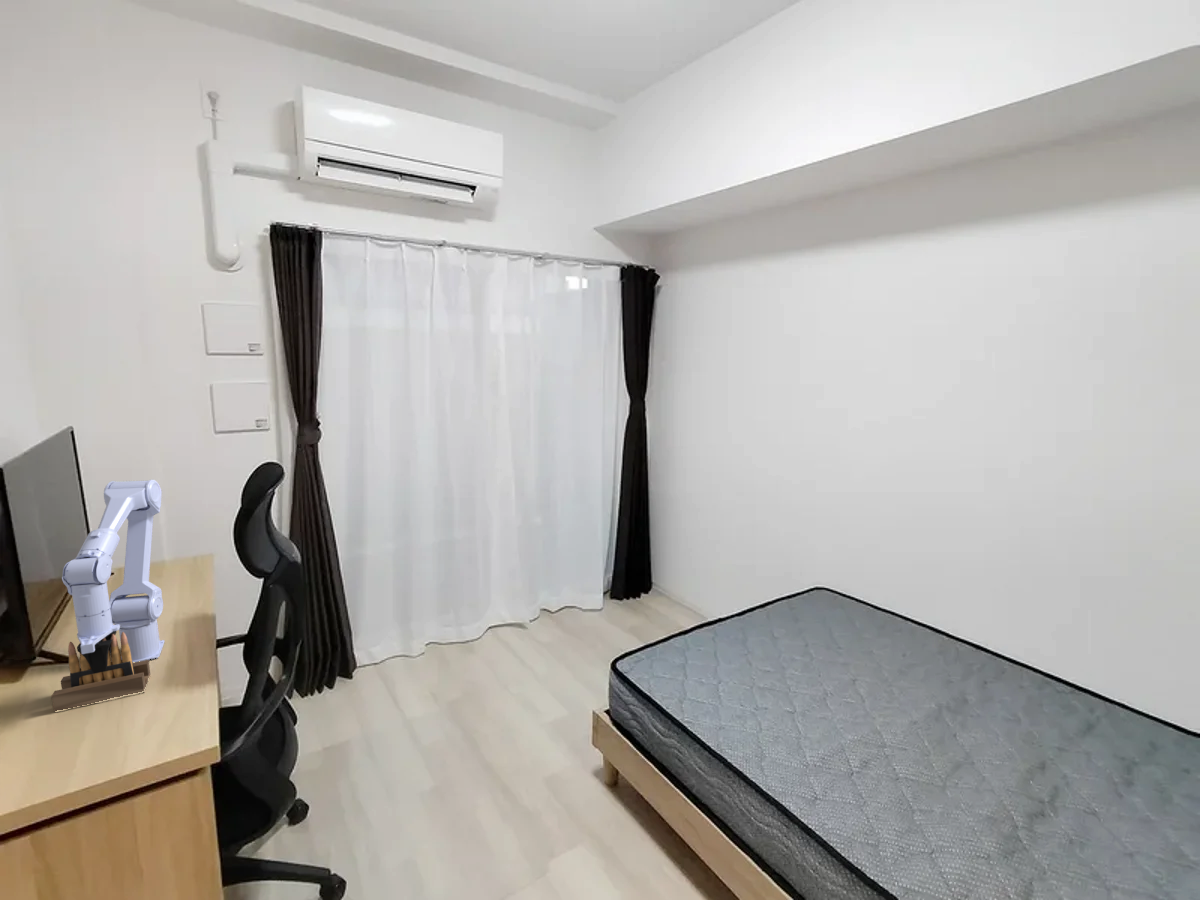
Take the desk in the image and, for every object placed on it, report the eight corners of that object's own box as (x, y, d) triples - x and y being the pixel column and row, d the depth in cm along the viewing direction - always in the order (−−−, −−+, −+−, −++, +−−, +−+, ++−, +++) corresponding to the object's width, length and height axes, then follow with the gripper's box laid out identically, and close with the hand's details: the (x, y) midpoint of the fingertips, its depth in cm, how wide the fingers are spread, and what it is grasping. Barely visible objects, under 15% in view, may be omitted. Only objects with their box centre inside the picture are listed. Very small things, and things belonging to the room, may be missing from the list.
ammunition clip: (136, 677, 130) (129, 629, 128) (134, 682, 129) (127, 632, 127) (74, 691, 125) (65, 640, 123) (71, 695, 123) (63, 644, 121)
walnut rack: (66, 693, 127) (63, 676, 126) (150, 675, 134) (148, 659, 134) (54, 713, 120) (51, 695, 119) (144, 693, 127) (141, 676, 127)
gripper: (108, 620, 120) (117, 680, 122) (123, 594, 132) (131, 649, 134) (63, 628, 116) (73, 689, 118) (83, 601, 128) (92, 656, 131)
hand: (101, 668), depth 126 cm, fingers closed on ammunition clip, 2 cm apart
